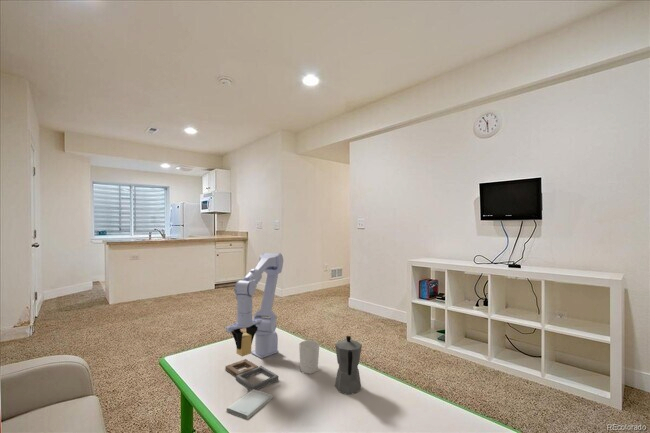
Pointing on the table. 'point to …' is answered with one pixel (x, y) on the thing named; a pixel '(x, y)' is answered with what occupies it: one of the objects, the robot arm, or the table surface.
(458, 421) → the table surface
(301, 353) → the white cup
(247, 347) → the peg
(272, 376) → the gray square frame
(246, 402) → the hard drive
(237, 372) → the socket block
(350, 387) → the coffeepot
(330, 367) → the table surface
